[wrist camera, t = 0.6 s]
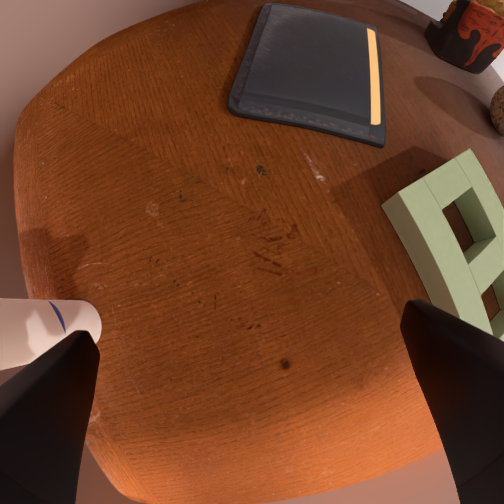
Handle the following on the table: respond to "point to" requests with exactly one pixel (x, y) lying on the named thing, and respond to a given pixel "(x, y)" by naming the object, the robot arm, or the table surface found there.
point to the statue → (469, 33)
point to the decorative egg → (498, 110)
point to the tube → (41, 327)
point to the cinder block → (454, 239)
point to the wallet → (312, 74)
